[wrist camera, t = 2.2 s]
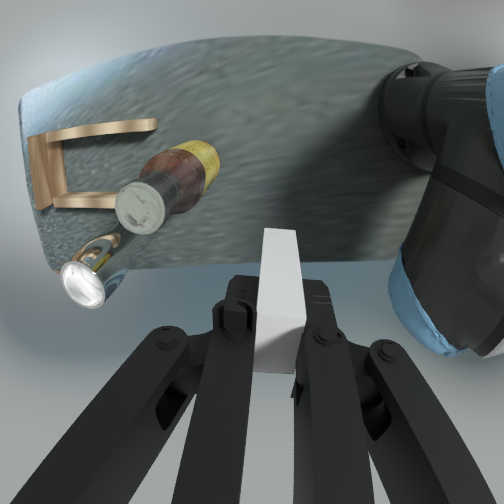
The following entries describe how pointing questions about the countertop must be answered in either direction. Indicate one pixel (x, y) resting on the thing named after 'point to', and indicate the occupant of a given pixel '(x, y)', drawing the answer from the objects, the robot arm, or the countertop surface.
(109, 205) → the bracket
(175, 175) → the sauce bottle
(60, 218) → the countertop surface
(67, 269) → the beer glass
